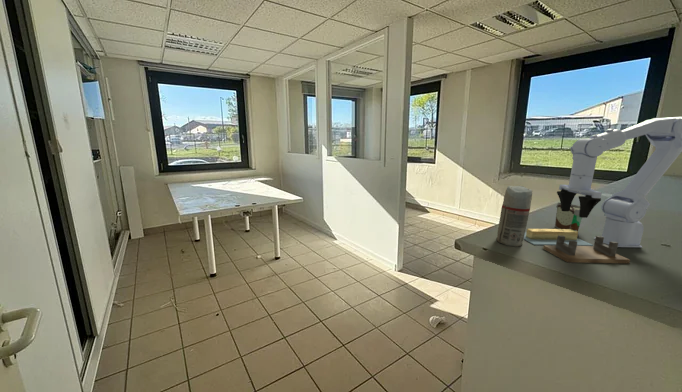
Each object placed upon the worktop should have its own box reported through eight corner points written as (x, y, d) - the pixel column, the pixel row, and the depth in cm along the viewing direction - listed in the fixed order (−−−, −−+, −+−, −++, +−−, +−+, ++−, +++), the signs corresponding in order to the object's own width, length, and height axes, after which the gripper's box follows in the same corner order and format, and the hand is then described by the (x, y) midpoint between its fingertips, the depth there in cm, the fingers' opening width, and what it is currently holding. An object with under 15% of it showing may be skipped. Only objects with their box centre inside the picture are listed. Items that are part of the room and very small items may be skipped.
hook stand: (598, 249, 89) (601, 233, 87) (629, 263, 79) (633, 245, 78) (543, 248, 89) (545, 232, 88) (567, 262, 79) (570, 244, 78)
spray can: (526, 242, 94) (535, 186, 90) (521, 249, 88) (531, 189, 84) (499, 236, 100) (506, 183, 96) (493, 242, 94) (500, 186, 90)
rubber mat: (565, 233, 103) (565, 232, 103) (593, 246, 92) (593, 245, 91) (512, 233, 104) (513, 232, 104) (533, 245, 92) (534, 243, 92)
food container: (589, 236, 101) (595, 211, 98) (570, 235, 102) (576, 210, 100) (569, 226, 112) (573, 203, 110) (552, 225, 114) (557, 202, 111)
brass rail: (569, 237, 99) (571, 229, 98) (576, 240, 96) (578, 232, 95) (525, 236, 99) (527, 228, 99) (531, 239, 96) (532, 231, 96)
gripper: (553, 172, 97) (546, 208, 100) (588, 178, 83) (579, 220, 85) (573, 172, 97) (566, 208, 99) (611, 178, 82) (602, 220, 85)
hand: (573, 214), depth 92 cm, fingers open, 7 cm apart
